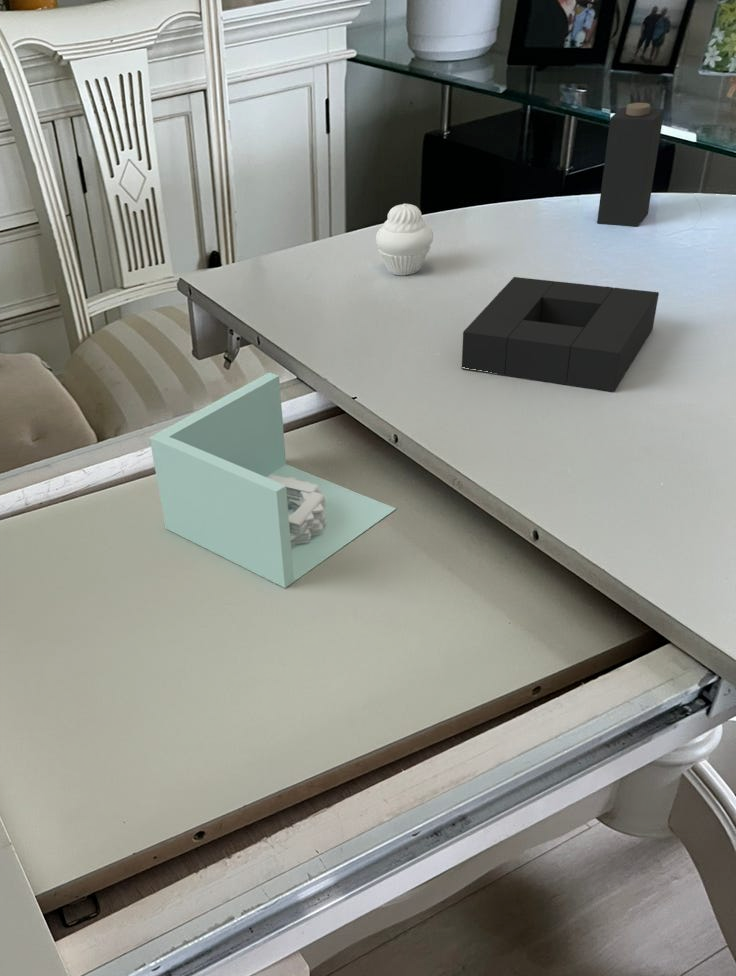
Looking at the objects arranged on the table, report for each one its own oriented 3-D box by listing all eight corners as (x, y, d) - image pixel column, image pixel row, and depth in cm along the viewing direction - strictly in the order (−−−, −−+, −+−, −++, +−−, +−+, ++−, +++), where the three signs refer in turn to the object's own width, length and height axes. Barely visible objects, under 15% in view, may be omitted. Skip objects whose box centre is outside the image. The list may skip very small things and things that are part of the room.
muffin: (364, 275, 108) (363, 208, 104) (396, 256, 112) (396, 191, 107) (412, 284, 105) (413, 216, 101) (443, 265, 109) (445, 198, 104)
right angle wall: (285, 588, 66) (276, 491, 62) (165, 528, 73) (149, 437, 69) (396, 508, 73) (396, 415, 68) (276, 460, 79) (268, 372, 75)
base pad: (652, 329, 92) (659, 292, 89) (613, 392, 83) (620, 352, 81) (511, 312, 97) (513, 276, 95) (461, 369, 89) (463, 331, 87)
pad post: (648, 213, 115) (665, 100, 108) (638, 226, 112) (655, 111, 105) (607, 210, 117) (622, 99, 110) (596, 223, 114) (611, 110, 107)
